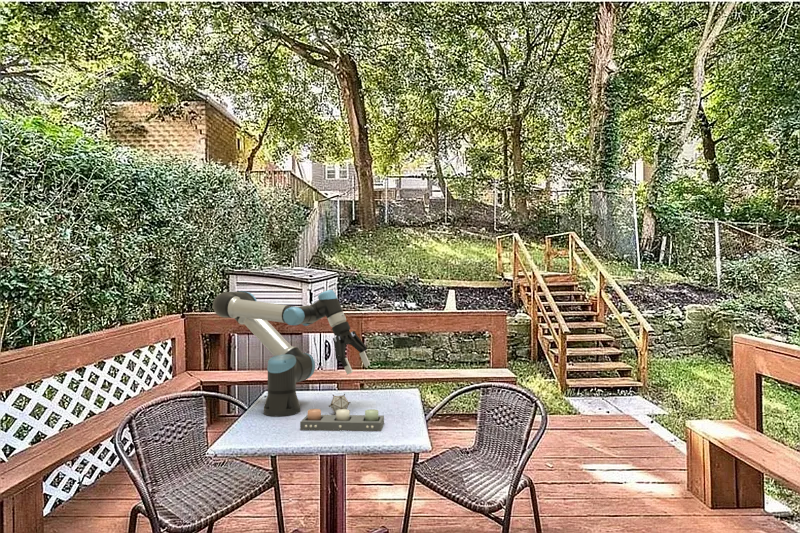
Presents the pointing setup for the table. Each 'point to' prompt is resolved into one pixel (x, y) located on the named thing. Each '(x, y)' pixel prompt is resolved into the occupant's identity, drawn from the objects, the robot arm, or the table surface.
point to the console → (342, 423)
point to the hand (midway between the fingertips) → (359, 369)
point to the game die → (339, 403)
